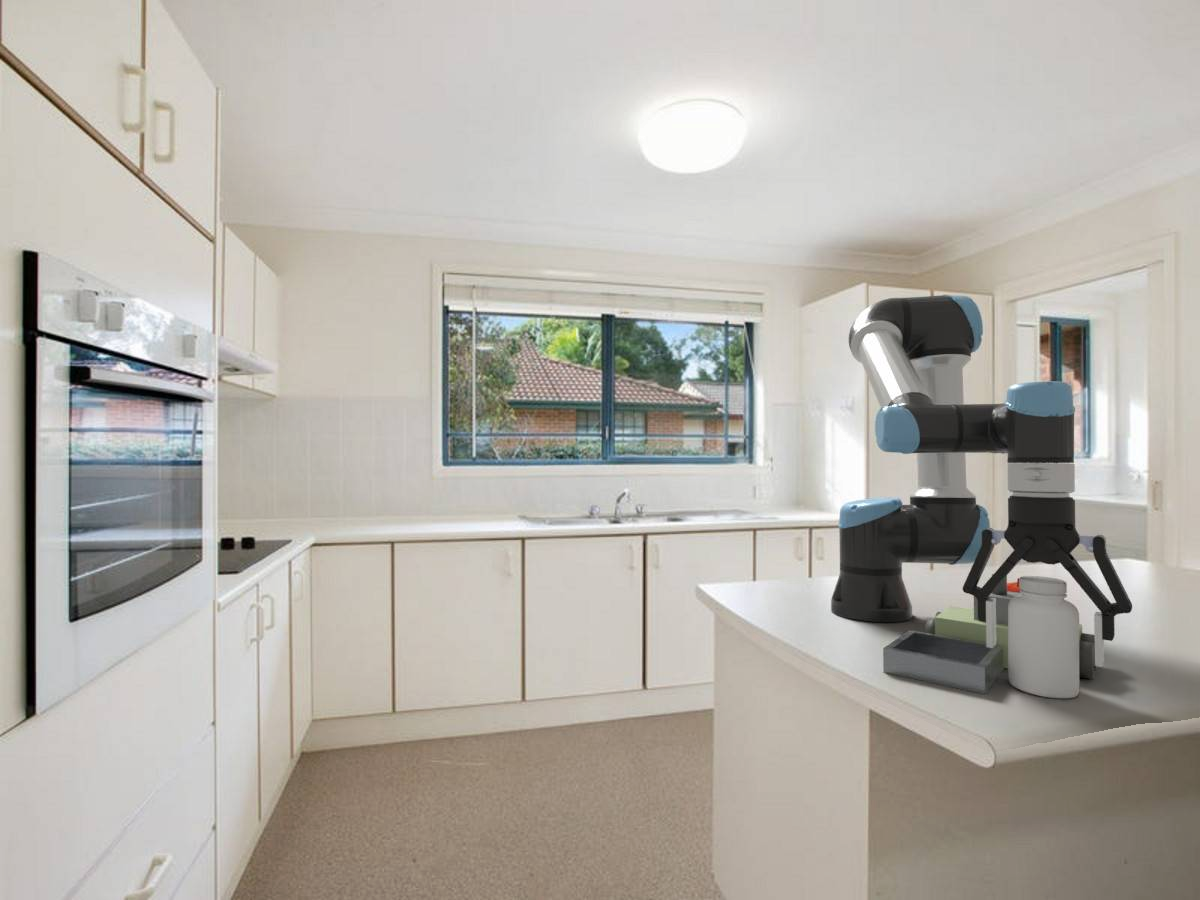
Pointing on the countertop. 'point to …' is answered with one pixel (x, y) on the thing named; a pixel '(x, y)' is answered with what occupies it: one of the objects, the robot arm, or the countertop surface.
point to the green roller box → (999, 628)
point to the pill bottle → (1043, 639)
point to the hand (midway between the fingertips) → (1042, 654)
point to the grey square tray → (944, 660)
